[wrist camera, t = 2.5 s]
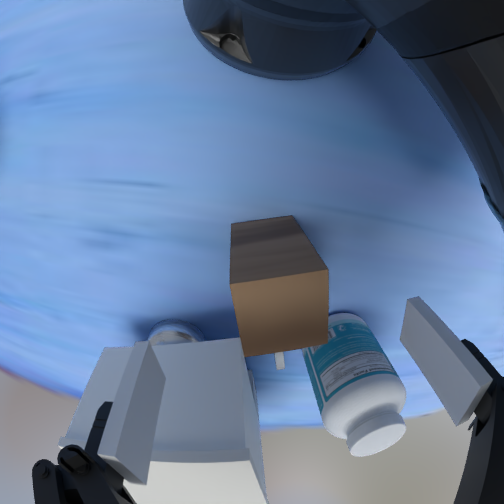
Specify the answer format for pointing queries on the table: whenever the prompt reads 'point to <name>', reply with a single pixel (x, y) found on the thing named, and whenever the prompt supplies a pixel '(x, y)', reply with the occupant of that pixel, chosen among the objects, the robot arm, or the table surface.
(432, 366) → the robot arm
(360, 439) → the pill bottle
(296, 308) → the wood grain block
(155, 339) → the silver shallow dome
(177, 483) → the cabinet
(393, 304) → the table surface
